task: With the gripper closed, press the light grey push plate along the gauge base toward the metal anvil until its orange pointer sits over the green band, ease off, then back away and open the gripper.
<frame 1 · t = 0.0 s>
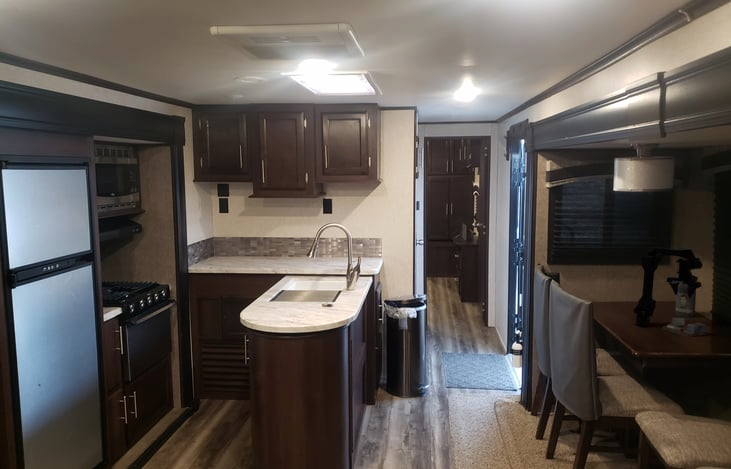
hand: (682, 296, 307), 15 cm above the table, fingers open, 9 cm apart
push plate: (675, 322, 293), point 4 cm above the table, slide at 0.0 cm
liquor: (684, 315, 322), on the table
gauge base: (684, 331, 288), on the table
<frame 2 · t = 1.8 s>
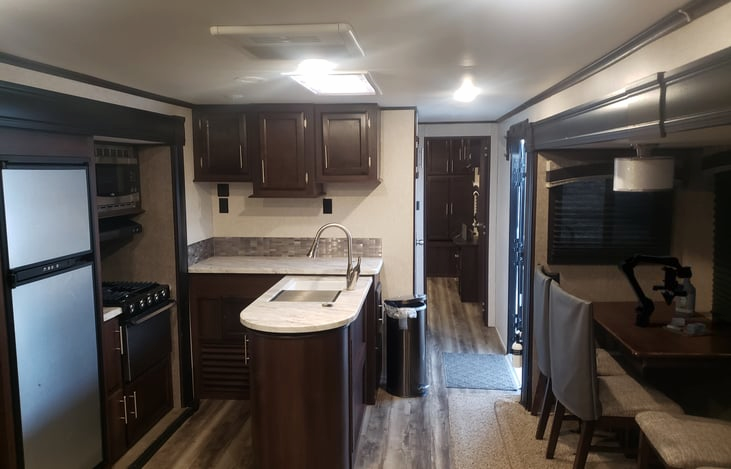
hand: (668, 305, 299), 12 cm above the table, fingers closed
nothing on the table moved.
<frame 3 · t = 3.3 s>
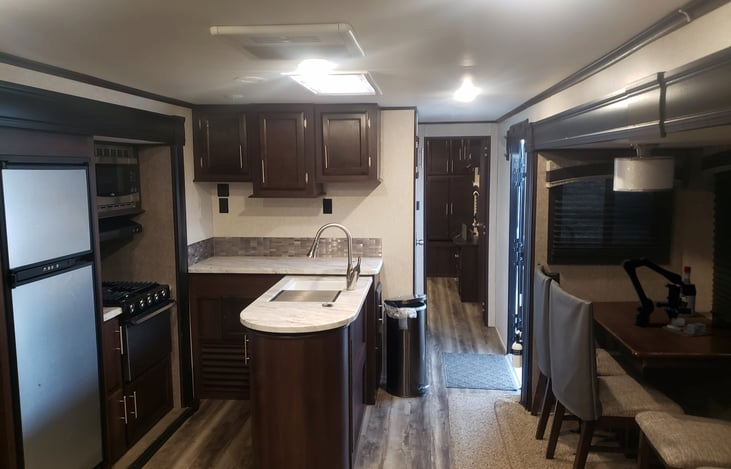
hand: (672, 322, 297), 3 cm above the table, fingers closed
push plate: (675, 322, 293), point 4 cm above the table, slide at 0.0 cm, touching gripper
everything else where it was.
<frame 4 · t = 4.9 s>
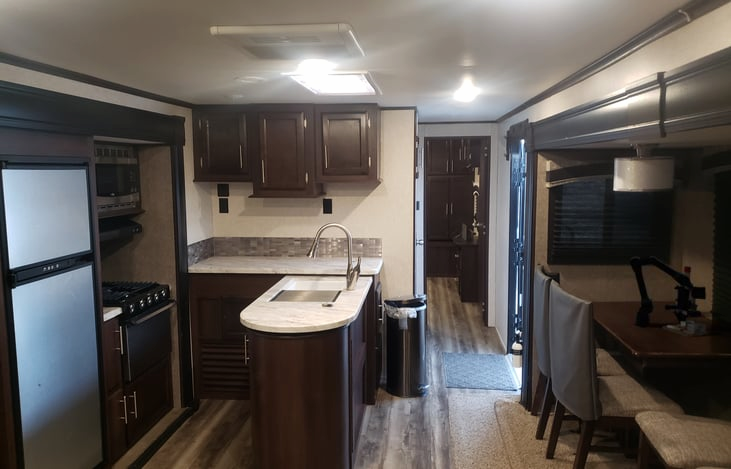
hand: (681, 325, 291), 3 cm above the table, fingers closed
push plate: (684, 325, 287), point 4 cm above the table, slide at 5.9 cm, touching gripper
everything else where it was.
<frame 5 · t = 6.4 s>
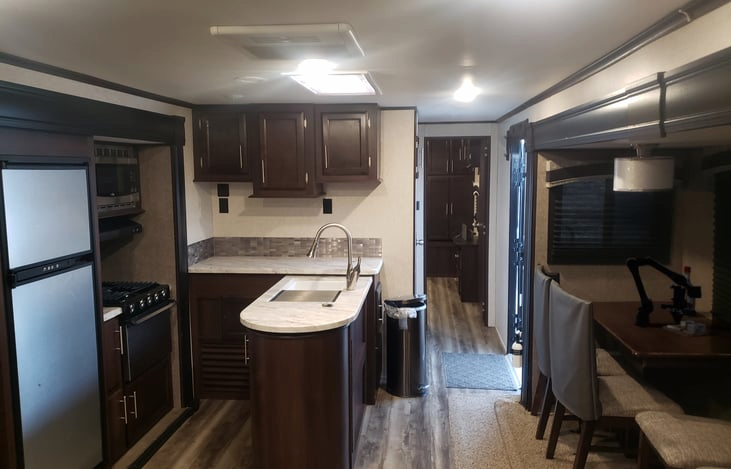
hand: (677, 324, 294), 2 cm above the table, fingers closed
push plate: (684, 325, 287), point 4 cm above the table, slide at 5.9 cm
everything else where it was.
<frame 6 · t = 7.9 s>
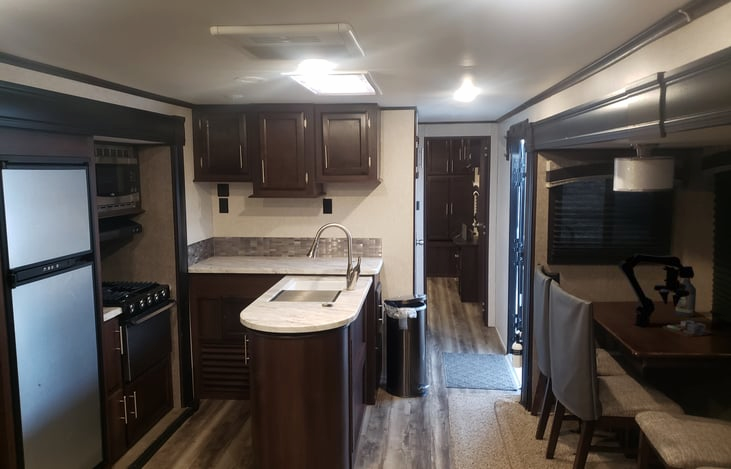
hand: (670, 305, 298), 12 cm above the table, fingers open, 6 cm apart
nothing on the table moved.
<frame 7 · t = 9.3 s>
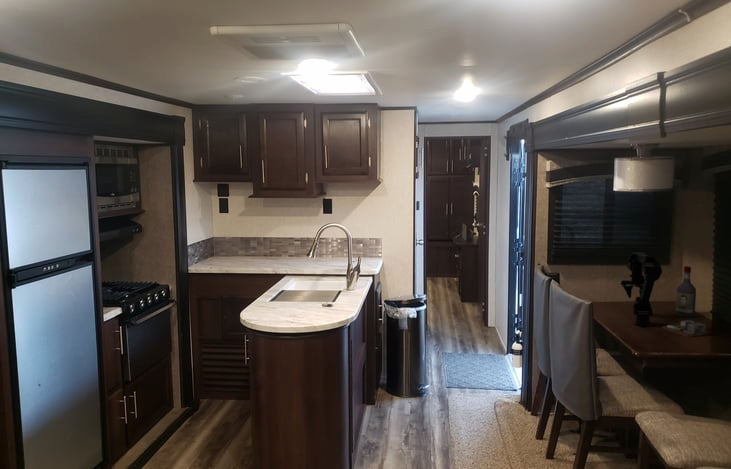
hand: (635, 299, 313), 12 cm above the table, fingers open, 9 cm apart
nothing on the table moved.
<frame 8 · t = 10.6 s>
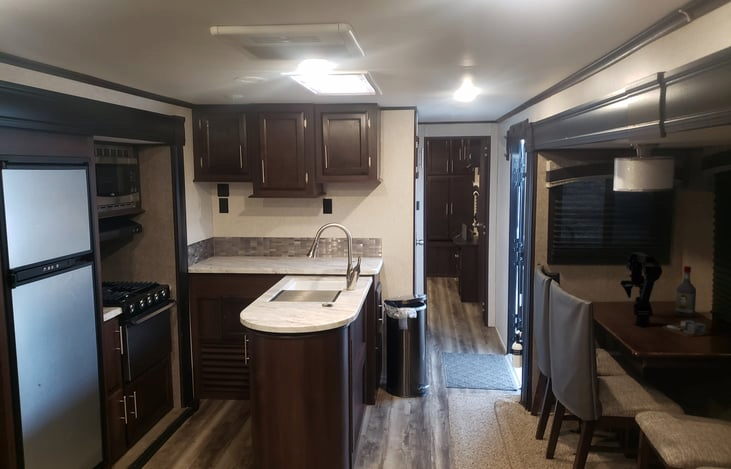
hand: (635, 299, 313), 12 cm above the table, fingers open, 9 cm apart
nothing on the table moved.
at the end: push plate slide at 5.9 cm; the gripper is holding nothing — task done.
